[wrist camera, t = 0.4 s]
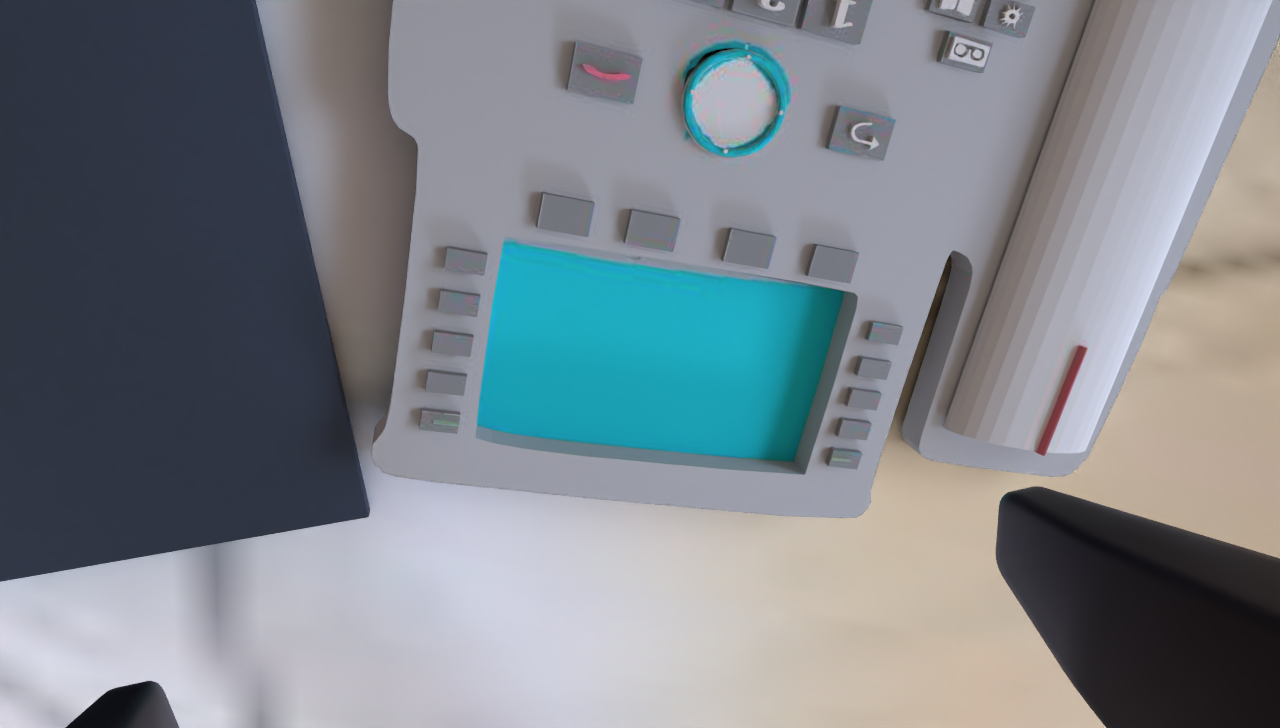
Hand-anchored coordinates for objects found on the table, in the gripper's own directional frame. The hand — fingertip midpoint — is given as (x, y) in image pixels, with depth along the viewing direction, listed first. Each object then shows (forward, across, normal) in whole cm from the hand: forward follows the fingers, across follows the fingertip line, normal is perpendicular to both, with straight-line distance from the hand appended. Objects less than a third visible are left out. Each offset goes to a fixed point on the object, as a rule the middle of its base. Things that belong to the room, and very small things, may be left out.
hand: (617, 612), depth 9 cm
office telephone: (+15, -9, -1) cm, 17 cm away
